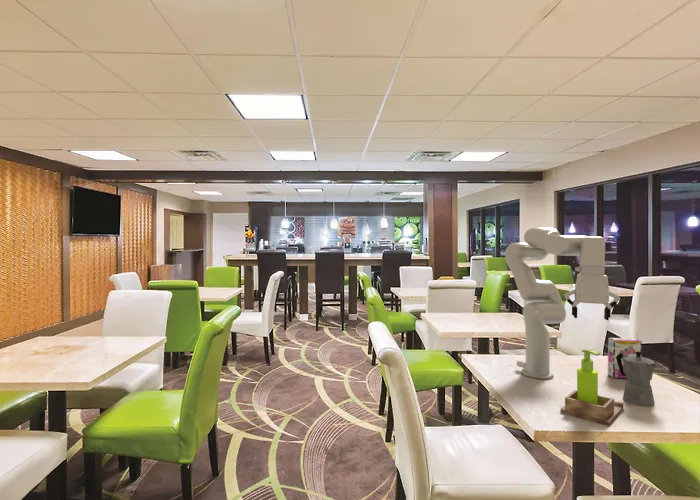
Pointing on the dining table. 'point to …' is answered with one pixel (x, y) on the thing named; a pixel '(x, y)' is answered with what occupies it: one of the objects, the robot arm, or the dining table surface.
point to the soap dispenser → (587, 379)
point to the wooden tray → (593, 409)
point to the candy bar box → (620, 346)
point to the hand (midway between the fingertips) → (590, 318)
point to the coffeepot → (637, 378)
